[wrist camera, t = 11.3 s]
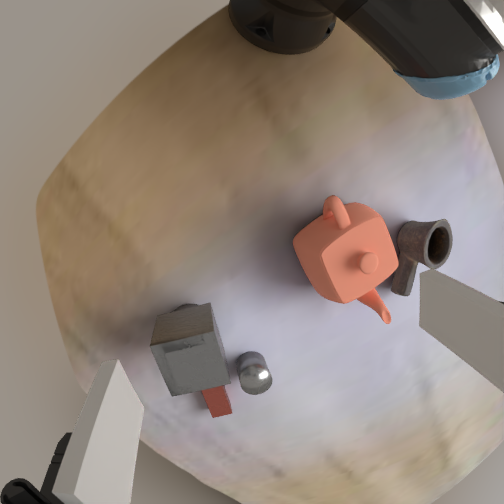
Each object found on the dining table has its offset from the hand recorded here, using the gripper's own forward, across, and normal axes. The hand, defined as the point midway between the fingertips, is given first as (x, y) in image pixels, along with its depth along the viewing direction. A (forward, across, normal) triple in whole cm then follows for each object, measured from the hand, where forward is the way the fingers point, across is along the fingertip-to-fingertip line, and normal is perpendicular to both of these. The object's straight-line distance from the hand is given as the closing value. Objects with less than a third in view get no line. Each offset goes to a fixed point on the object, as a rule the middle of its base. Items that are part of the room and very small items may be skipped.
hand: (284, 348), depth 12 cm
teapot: (+30, +14, -7) cm, 34 cm away
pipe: (+30, +26, -10) cm, 41 cm away
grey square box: (+26, -8, -12) cm, 29 cm away
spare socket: (+29, -2, -21) cm, 36 cm away
